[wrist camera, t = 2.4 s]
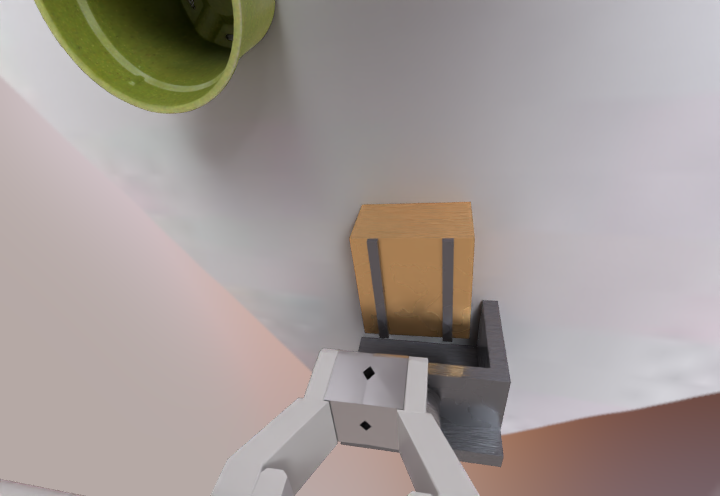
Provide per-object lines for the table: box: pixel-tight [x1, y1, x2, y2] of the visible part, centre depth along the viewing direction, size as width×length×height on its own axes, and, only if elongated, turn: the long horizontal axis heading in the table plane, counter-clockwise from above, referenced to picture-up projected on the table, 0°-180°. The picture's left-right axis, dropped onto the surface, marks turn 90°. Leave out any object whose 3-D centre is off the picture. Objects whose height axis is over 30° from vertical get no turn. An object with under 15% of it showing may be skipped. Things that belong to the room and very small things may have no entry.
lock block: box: [349, 202, 475, 342], centre depth 28 cm, size 9×8×5 cm
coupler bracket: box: [341, 300, 511, 467], centre depth 31 cm, size 7×12×10 cm, turn 95°
